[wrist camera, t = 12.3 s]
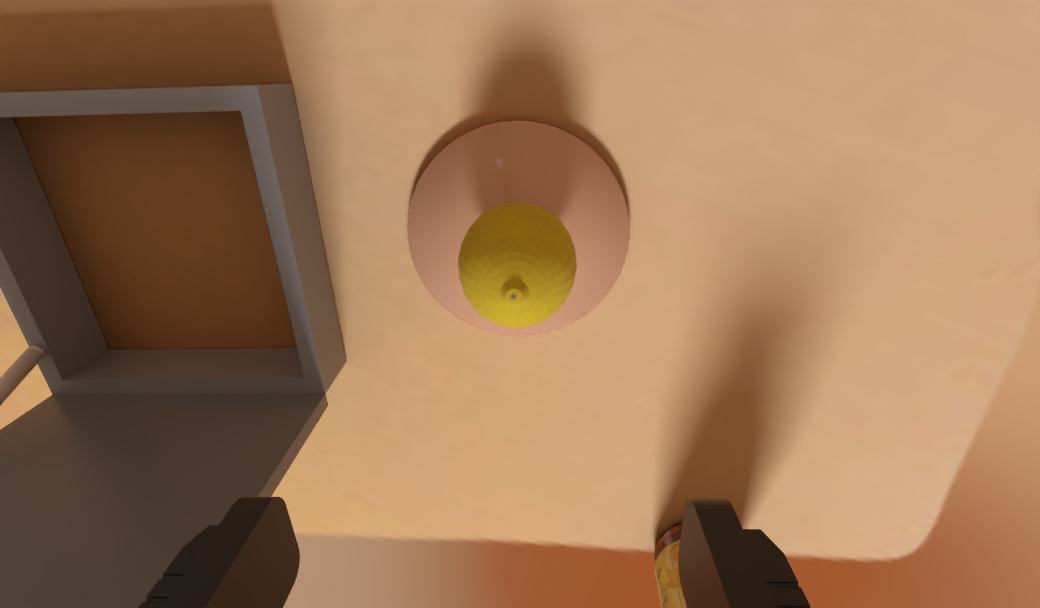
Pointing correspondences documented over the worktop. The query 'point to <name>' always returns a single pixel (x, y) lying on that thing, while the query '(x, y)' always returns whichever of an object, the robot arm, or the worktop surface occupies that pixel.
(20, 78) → the worktop surface
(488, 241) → the lemon
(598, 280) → the saucer
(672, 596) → the sauce bottle
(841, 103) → the worktop surface
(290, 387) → the case
